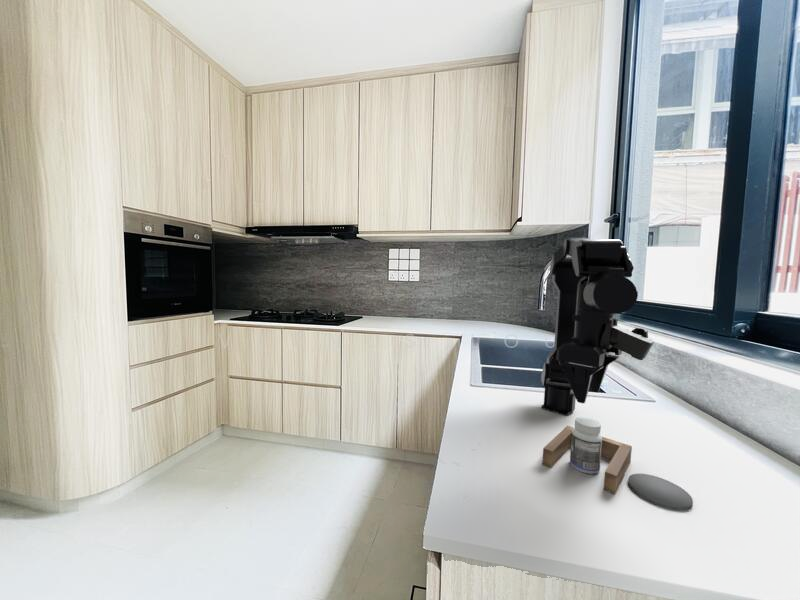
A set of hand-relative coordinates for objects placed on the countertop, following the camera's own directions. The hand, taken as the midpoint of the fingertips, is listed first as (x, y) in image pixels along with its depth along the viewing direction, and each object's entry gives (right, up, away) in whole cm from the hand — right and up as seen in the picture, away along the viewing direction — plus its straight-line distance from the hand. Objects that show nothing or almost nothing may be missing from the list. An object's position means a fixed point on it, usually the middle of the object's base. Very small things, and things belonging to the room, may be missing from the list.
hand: (588, 397), depth 57 cm
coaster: (+8, -13, -6) cm, 17 cm away
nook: (+1, -13, +2) cm, 13 cm away
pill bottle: (-1, -13, 0) cm, 13 cm away
